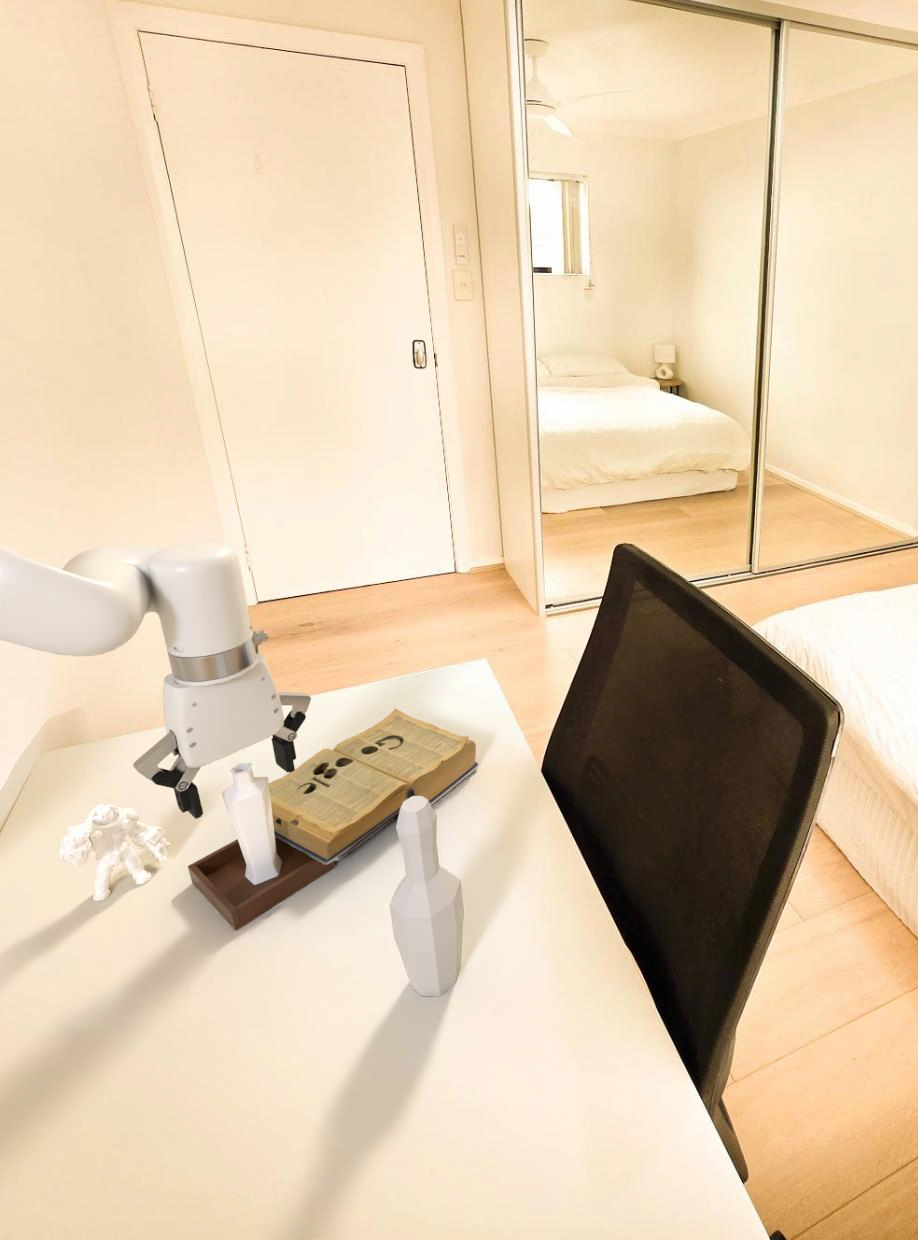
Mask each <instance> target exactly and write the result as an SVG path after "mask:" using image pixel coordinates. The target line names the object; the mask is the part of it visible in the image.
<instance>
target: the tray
mask: <svg viewBox="0 0 918 1240" xmlns="http://www.w3.org/2000/svg"><path fill="white" fill-rule="evenodd" d="M275 843H276V852H277V854H278V856H279V857H280V859H281V860H282V865H281V868H280V872H279V875H278V876H276V877H274V878H271V879H269V880H266V881H264V882H262V883H259V884H256V885H254V884H253V883H252V882H250V881H249V880H248V879H247V878H246V877H245V873H246V862H245V859H244V856H243V853H242V851H241V848H240V845H239V842H238V839H237V838H236V839H235V840H233V841H231V842H230V843H228V844H226V845H224V846H222V847H220V848H219V849H218V848H217V850H214V851H213V852H211V853H209V854H207V855H206V856H204V857H202V858H199V859H198V860H196V861H195V862H192V863H191V864H189V865H187V869H188V873H189V876H190V880H191V883H192V885H194V887H195V888H196V889H197V890H198V891H199V893H200V894H202V896H203V897H204V898H205V899H206V900H207V901H208V902H209V903H210V904H211V905H212V907H214V909H215V910H216V911H217V912H218V913H219V914H220V915H221V916H222V918H223V919H224V920H225V921H226V922H227V923H228V924H229V925H230V927H232V928H233V929H234V931H238V930H239V929H241V928H243V927H244V926H246V925H247V924H249V923H250V922H252V921H254V920H255V919H257V918H258V917H259V916H261V915H263V914H264V913H266V912H267V911H269V910H271V909H273V908H274V907H275V906H277V905H279V904H281V903H282V902H283V901H284V900H286V899H288V898H290V897H292V896H293V895H294V894H296V893H297V892H299V891H301V890H303V889H304V888H305V887H307V886H308V885H310V884H312V883H313V882H314V881H316V880H317V879H320V878H321V877H323V876H324V875H326V874H327V873H329V872H330V871H332V870H334V869H335V867H336V866H335V861H333V862H331V863H329V864H327V865H324V864H322V863H321V862H319V861H317V860H315V859H313V858H312V857H310V856H309V855H307V854H306V853H304V852H302V851H300V850H298V849H296V848H293V847H292V846H291V845H289V844H288V843H286V842H284V841H282V840H280V839H278V838H276V837H275Z"/></svg>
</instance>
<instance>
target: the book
mask: <svg viewBox="0 0 918 1240" xmlns="http://www.w3.org/2000/svg"><path fill="white" fill-rule="evenodd" d="M469 738H470V736H468V735H466V736H464V735H463V736H461V735H458V734H456V733H452V732H450V731H448V730H445V729H443V728H440V727H437V726H436V725H434V724H431V723H428V722H426V721H423V720H420V719H417V718H415V717H412V716H411V715H410V716H409V715H408V714H406V713H404V712H402V711H401V710H399V709H397V708H394V710H393V711H392V712H390V713H389V714H388V715H387V716H385V717H384V718H383V719H382V720H380V721H379V722H377V723H376V724H373V726H371V727H370V728H368V729H365V730H363V732H360V733H358V734H356V735H354V736H351V737H349V738H347V739H345V740H343V741H340V743H338V744H337V745H336V746H335V747H334V748H333V749H331V748H323V749H322V750H319V751H318V752H317V753H315V754H314V755H313V756H311V757H310V758H308V759H307V760H306V761H304V762H303V763H301V764H300V765H299V766H298V767H297V768H295V771H293V772H291V773H289V772H288V773H287V774H285V775H284V776H282V777H281V778H279V779H276V780H273V781H271V782H269V791H270V799H271V808H272V817H273V826H274V834H275V837H276V838H278V839H280V840H282V841H284V842H286V843H288V844H289V845H291V846H292V847H293V848H296V849H298V850H300V851H302V852H304V853H306V854H307V855H309V856H310V857H312V858H313V859H315V860H317V861H319V862H321V863H322V864H324V865H327V864H329V863H331V862H333V861H334V862H340V860H342V859H344V858H345V857H347V856H348V854H350V853H351V852H352V851H354V850H356V849H357V848H359V847H360V846H361V845H363V844H364V843H365V842H367V840H369V839H371V838H373V837H374V836H375V835H376V834H378V833H379V832H380V831H382V830H383V828H386V826H388V825H389V824H390V823H391V822H392V821H393V820H394V819H398V816H399V812H400V808H401V806H402V804H403V802H404V801H405V800H407V799H408V798H410V797H412V796H423V797H425V798H426V799H427V800H428V801H429V802H430V804H431V806H432V805H433V804H435V803H436V802H437V801H439V800H440V799H441V798H443V796H445V795H447V793H450V791H451V790H453V788H454V787H456V786H457V785H459V784H460V783H461V782H462V781H464V779H466V778H467V777H468V776H470V775H471V774H472V773H473V772H475V771H476V770H477V769H478V767H479V762H477V761H476V757H477V756H476V755H477V745H476V743H475V741H473V740H472V739H469Z"/></svg>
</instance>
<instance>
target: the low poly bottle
mask: <svg viewBox="0 0 918 1240" xmlns="http://www.w3.org/2000/svg"><path fill="white" fill-rule="evenodd" d="M437 818H438V815H437V813H436V811H435V810H434V808H433V806H432V805H431V804H430V802H429V801H428V800H427V799H426V798H425V797H423V796H412V797H410V798H408V799H407V800H405V801H404V802H403V804H402V806H401V808H400V812H399V816H398V818H397V821H396V825H395V830H396V833H397V836H398V840H399V843H400V847H401V850H402V856H403V862H404V870H405V875H404V876H403V878H402V879H401V880H400V882H399V883H398V885H397V887H396V889H395V891H394V893H393V896H392V898H391V900H390V902H389V904H388V907H389V912H390V913H389V914H390V920H391V926H392V933H393V934H392V935H393V938H394V941H395V945H396V947H397V950H398V953H399V955H400V958H401V961H402V964H403V966H404V970H405V973H406V975H407V978H408V981H409V983H410V986H411V987H412V988H413V989H414V991H416V992H417V993H418V994H419V995H420V996H421V997H441V996H442V995H443V994H444V993H446V992H447V991H448V990H449V989H450V988H451V987H452V986H453V985H454V984H455V983H456V982H457V980H458V976H459V972H460V969H461V966H462V953H463V952H462V951H463V936H464V935H463V932H464V919H465V918H464V917H465V909H464V907H465V906H464V898H463V891H462V890H463V889H462V881H461V879H459V877H457V876H456V875H455V874H453V872H451V871H450V870H448V869H447V868H445V867H444V866H442V865H440V860H439V852H438V841H437V835H438V834H437V833H438V832H437V830H438V829H437V827H438V823H437V821H438V819H437Z"/></svg>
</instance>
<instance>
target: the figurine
mask: <svg viewBox="0 0 918 1240" xmlns="http://www.w3.org/2000/svg"><path fill="white" fill-rule="evenodd" d="M139 819H140V815H139V813H138V812H136V811H135V810H134V809H133V808H131V807H124V808H123V807H122V808H121V807H119V806H118V805H115V804H104V803H99V804H98V805H97V806H95V807H94V808H93V809H92V810H91V811H89V812H88V814H87V815H86V817H85V818H84V820H83V822H81V823H79V824H77V825H76V826H75V825H71V826H68V827H67V831H68V833H67V834H66V835H65V836H63V838H62V839H61V840H60V846H59V853H58V854H59V855H58V856H59V858H60V859H61V860H62V861H65V862H66V861H68V862H69V864H71V865H72V866H73V867H75V868H79V867H81V866H83V865H84V864H86V863H87V862H88V861H89V858H90V852H91V851H93V852H95V861H96V862H97V864H96V872H95V876H94V882H93V885H94V892H93V894H92V896H93V901H94V902H100V901H103V900H105V899H107V898H108V897H110V895H111V890H110V888H111V887H110V883H111V877H112V873H113V869H114V867H115V866H117V865H119V864H121V863H122V864H123V865H124V866H125V867H126V869H127V871H128V873H129V874H131V877H132V879H133V880H134V881H135V884H137V885H144V884H146V883H148V882H149V881H151V879H152V878H153V876H152V873H151V872H150V871H147V870H146V868H145V865H144V862H143V861H142V860H141V858H140V857H139V855H138V853H136V851H135V849H133V847H131V845H130V843H129V841H127V840H126V838H127V835H128V837H129V838H130V839H131V843H133V844H134V845H135V846H136V847H137V848H139V849H145V850H147V852H148V853H149V859H150V860H153V862H157V861H158V862H159V863H163V861H164V862H166V861H167V860H168V859H169V858H168V850H167V848H168V847H170V842H169V841H167V839H166V838H165V837H163V836H165V832H164V829H163V828H162V827H161V826H159V825H149V824H147V823H144V822H140V820H139Z"/></svg>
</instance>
